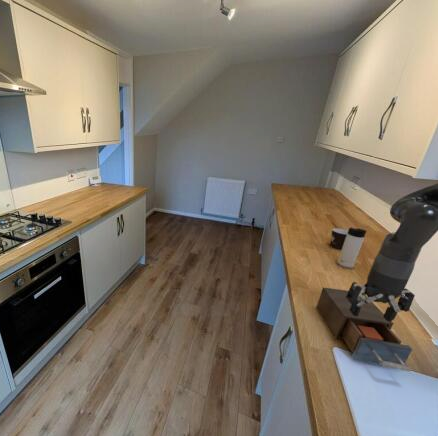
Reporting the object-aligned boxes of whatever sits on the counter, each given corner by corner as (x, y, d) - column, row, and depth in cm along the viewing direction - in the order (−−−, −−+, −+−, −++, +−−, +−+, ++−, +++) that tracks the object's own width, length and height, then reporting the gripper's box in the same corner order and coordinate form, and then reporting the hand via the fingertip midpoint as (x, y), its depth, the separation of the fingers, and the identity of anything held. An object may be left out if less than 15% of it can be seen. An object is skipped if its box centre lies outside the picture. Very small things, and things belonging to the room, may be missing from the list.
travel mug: (340, 267, 115) (353, 230, 108) (335, 261, 121) (347, 225, 114) (355, 270, 113) (370, 232, 106) (350, 263, 119) (363, 226, 112)
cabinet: (382, 346, 73) (393, 323, 70) (336, 338, 75) (344, 316, 72) (355, 313, 86) (363, 292, 83) (316, 307, 89) (322, 287, 86)
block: (373, 327, 72) (383, 339, 68) (368, 338, 73) (378, 350, 69) (356, 325, 72) (365, 336, 68) (352, 335, 74) (360, 347, 70)
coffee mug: (327, 242, 141) (332, 227, 138) (345, 246, 137) (351, 230, 133) (327, 249, 132) (332, 233, 129) (347, 254, 128) (352, 237, 124)
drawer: (415, 385, 61) (427, 365, 58) (364, 375, 63) (373, 355, 60) (370, 331, 77) (378, 313, 75) (331, 324, 80) (337, 307, 77)
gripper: (368, 274, 63) (349, 321, 68) (434, 282, 60) (408, 331, 66) (352, 260, 70) (336, 304, 75) (410, 266, 67) (389, 312, 72)
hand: (370, 316), depth 70 cm, fingers open, 8 cm apart
